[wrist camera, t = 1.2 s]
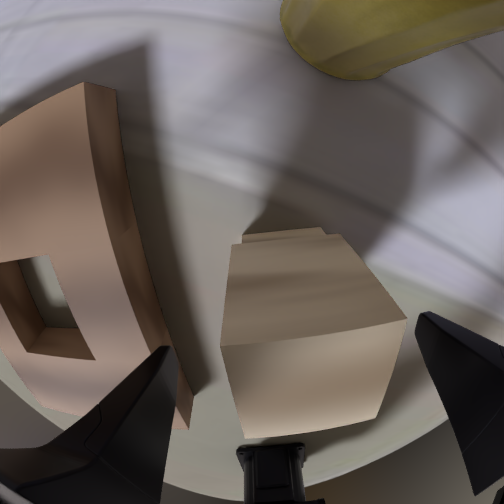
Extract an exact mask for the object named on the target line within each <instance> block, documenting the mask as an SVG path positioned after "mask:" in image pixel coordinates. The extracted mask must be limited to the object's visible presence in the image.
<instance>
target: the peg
mask: <svg viewBox="0 0 504 504" xmlns="http://www.w3.org/2000/svg"><path fill="white" fill-rule="evenodd" d="M406 323H407V317H406V316H405V314H404V313H403V312H402V310H401V309H400V308H399V306H398V305H397V304H396V302H395V301H394V300H393V298H392V297H391V296H390V295H389V293H388V292H387V291H386V289H385V288H384V287H383V286H382V284H381V283H380V282H379V280H378V279H377V278H376V277H375V275H374V274H373V273H372V272H371V270H370V269H369V268H368V267H367V266H366V264H365V263H364V262H363V261H362V259H361V258H360V257H359V256H358V255H357V253H356V252H355V251H354V250H353V249H352V247H351V246H350V245H349V244H348V243H347V242H346V240H345V239H344V238H343V237H342V236H341V235H340V233H338V234H328V235H326V234H325V232H324V231H323V230H322V228H321V227H314V228H304V229H294V230H284V231H274V232H265V233H256V234H246V235H242V244H234V245H232V247H231V255H230V263H229V271H228V280H227V288H226V297H225V305H224V314H223V323H222V332H221V342H220V348H221V352H222V356H223V360H224V364H225V368H226V372H227V375H228V379H229V383H230V387H231V390H232V394H233V398H234V401H235V405H236V409H237V412H238V416H239V419H240V423H241V426H242V429H243V433H244V436H245V439H248V438H263V437H274V436H284V435H292V434H300V433H307V432H313V431H319V430H325V429H330V428H335V427H340V426H345V425H350V424H354V423H358V422H362V421H366V420H370V419H374V418H376V416H377V413H378V411H379V408H380V406H381V403H382V401H383V398H384V395H385V393H386V390H387V387H388V384H389V381H390V378H391V375H392V372H393V369H394V366H395V363H396V360H397V356H398V353H399V350H400V346H401V342H402V339H403V335H404V331H405V327H406Z"/></svg>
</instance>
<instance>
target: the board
mask: <svg viewBox="0 0 504 504" xmlns="http://www.w3.org/2000/svg"><path fill="white" fill-rule="evenodd" d="M48 254H49V257H50V260H51V263H52V265H53V268H54V271H55V274H56V276H57V279H58V281H59V284H60V286H61V289H62V291H63V294H64V296H65V299H66V301H67V303H68V305H69V308H70V310H71V312H72V314H73V316H74V319H75V321H76V323H77V325H78V327H79V328H53V327H46V326H45V324H44V322H43V320H42V318H41V316H40V314H39V312H38V310H37V308H36V305H35V303H34V301H33V299H32V297H31V294H30V292H29V290H28V287H27V285H26V282H25V280H24V278H23V275H22V272H21V270H20V267H19V264H18V262H17V260H18V259H24V258H30V257H36V256H42V255H48ZM161 345H170V346H172V348H173V350H174V353H175V355H176V358H177V360H178V365H179V370H178V384H177V399H176V407H175V413H174V418H173V424H172V429H186V430H189V425H190V418H191V412H192V406H193V399H194V396H193V394H192V391H191V389H190V387H189V384H188V382H187V379H186V377H185V374H184V372H183V369H182V367H181V364H180V362H179V359H178V356H177V354H176V351H175V348H174V346H173V343H172V340H171V337H170V334H169V332H168V329H167V326H166V323H165V320H164V317H163V314H162V311H161V308H160V305H159V302H158V298H157V295H156V292H155V289H154V285H153V282H152V279H151V275H150V272H149V268H148V264H147V261H146V257H145V253H144V250H143V246H142V242H141V238H140V234H139V230H138V225H137V221H136V217H135V212H134V208H133V203H132V198H131V193H130V188H129V183H128V178H127V172H126V167H125V161H124V155H123V148H122V142H121V134H120V127H119V119H118V110H117V101H116V90H115V89H111V88H107V87H103V86H99V85H95V84H91V83H87V82H82V83H79V84H77V85H75V86H73V87H70V88H68V89H66V90H64V91H62V92H60V93H58V94H56V95H54V96H52V97H50V98H48V99H46V100H44V101H42V102H40V103H38V104H36V105H35V106H33V107H31V108H29V109H28V110H26V111H24V112H22V113H21V114H19V115H18V116H16V117H14V118H13V119H11V120H9V121H8V122H6V123H5V124H3V125H2V126H0V348H1V350H2V351H3V353H4V355H5V356H6V358H7V359H8V361H9V362H10V364H11V365H12V367H13V368H14V370H15V371H16V373H17V374H18V376H19V377H20V378H21V380H22V381H23V383H24V384H25V385H26V387H27V388H28V389H29V391H30V392H31V393H32V394H33V396H34V397H35V398H36V399H37V401H38V402H39V403H40V404H41V406H43V407H47V408H50V409H54V410H57V411H61V412H65V413H69V414H73V415H78V416H82V417H83V416H84V415H86V414H87V413H88V412H89V411H90V410H91V409H92V408H93V407H94V406H96V405H97V404H99V402H100V401H101V400H102V399H103V398H104V397H105V396H106V395H108V394H109V393H110V392H111V391H112V390H113V389H114V388H115V387H116V386H117V385H118V384H119V383H120V382H121V381H123V380H124V379H125V378H126V377H127V376H128V375H129V374H130V373H131V372H132V371H133V370H134V369H135V368H136V367H138V366H139V365H140V364H141V363H142V362H143V361H144V360H145V359H146V358H147V357H148V356H149V355H150V354H151V353H153V352H154V351H155V350H156V349H157V348H158V347H159V346H161Z"/></svg>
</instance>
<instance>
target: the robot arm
mask: <svg viewBox="0 0 504 504" xmlns="http://www.w3.org/2000/svg"><path fill="white" fill-rule="evenodd" d="M415 337H416V339H417V342H418V345H419V347H420V350H421V353H422V356H423V358H424V361H425V364H426V367H427V369H428V371H429V374H430V376H431V378H432V380H433V382H434V384H435V387H436V389H437V391H438V393H439V396H440V398H441V400H442V403H443V405H444V408H445V410H446V412H447V415H448V417H449V420H450V422H451V425H452V428H453V430H454V433H455V436H456V438H457V441H458V444H459V447H460V450H461V452H462V456H463V459H464V462H465V465H466V469H467V472H468V475H469V479H470V482H471V486H472V489H473V493H474V495H475V496H476V495H478V494H480V493H481V492H483V491H484V490H485V489H487V488H489V487H490V486H491V485H493V484H494V483H496V482H497V481H498V480H500V479H501V478H502V477H504V347H503V346H501V345H498V344H497V343H495V342H493V341H491V340H489V339H487V338H485V337H483V336H481V335H479V334H477V333H475V332H472V331H470V330H468V329H466V328H464V327H462V326H460V325H458V324H456V323H454V322H452V321H449V320H447V319H445V318H443V317H441V316H439V315H437V314H435V313H432V312H430V311H427V312H423V313H420V314H419V317H418V320H417V324H416V328H415ZM178 370H179V365H178V360H177V358H176V355H175V353H174V350H173V348H172V346H170V345H161V346H159V347H158V348H157V349H156V350H155V351H154V352H153V353H151V354H150V355H149V356H148V357H147V358H146V359H145V360H144V361H143V362H142V363H141V364H140V365H139V366H138V367H136V368H135V369H134V370H133V371H132V372H131V373H130V374H129V375H128V376H127V377H126V378H125V379H124V380H123V381H121V382H120V383H119V384H118V385H117V386H116V387H115V388H114V389H113V390H112V391H111V392H110V393H109V394H108V395H106V396H105V397H104V398H103V399H102V400H101V401H100V402H99V404H97V405H96V406H94V407H93V408H92V409H91V410H90V411H89V412H88V413H87V414H86V415H84V416H83V417H82V418H81V419H80V420H78V421H77V422H76V423H75V424H73V425H72V426H71V427H69V428H68V429H67V430H65V431H64V432H63V433H61V434H60V435H59V436H57V437H56V438H54V439H53V440H52V441H50V442H49V443H47V444H45V445H43V446H40V447H36V448H18V449H3V448H2V449H1V448H0V504H160V499H161V492H162V485H163V478H164V472H165V465H166V459H167V453H168V447H169V441H170V435H171V429H172V424H173V418H174V413H175V407H176V399H177V384H178ZM304 453H305V445H304V444H303V443H298V444H290V445H282V446H272V447H259V448H240V449H237V450H236V455H237V457H238V460H239V462H240V464H241V467H242V469H243V471H244V504H325V500H324V498H321V499H317V500H313V501H306V500H305V492H304V484H303V476H302V469H301V468H303V463H304ZM493 504H504V486H503V487H502V488H500V489H499V490H498V491H497V494H496V496H495V499H494V501H493Z"/></svg>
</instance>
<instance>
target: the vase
mask: <svg viewBox="0 0 504 504" xmlns="http://www.w3.org/2000/svg"><path fill="white" fill-rule="evenodd" d="M280 21H281V25H282V27H283V30H284V33H285V35H286V37H287V40H288V41H289V43H290V45H291V46H292V47H293V48H294V50H295V51H296V52H297V53H298V54H299V55H300V56H301V57H302V58H303V59H304V60H305V61H307V62H308V63H309V64H311V65H312V66H314V67H315V68H317V69H319V70H321V71H323V72H325V73H327V74H329V75H332V76H335V77H338V78H342V79H347V80H367V79H374V78H377V77H379V76H381V75H383V74H385V73H386V72H387V71H389V70H390V69H391V68H394V67H397V66H400V65H403V64H406V63H408V62H411V61H414V60H416V59H419V58H421V57H424V56H426V55H429V54H432V53H434V52H437V51H440V50H442V49H445V48H448V47H450V46H453V45H456V44H459V43H462V42H465V41H469V40H472V39H475V38H478V37H482V36H485V35H488V34H492V33H495V32H499V31H503V30H504V0H283V2H282V5H281V9H280Z"/></svg>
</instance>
